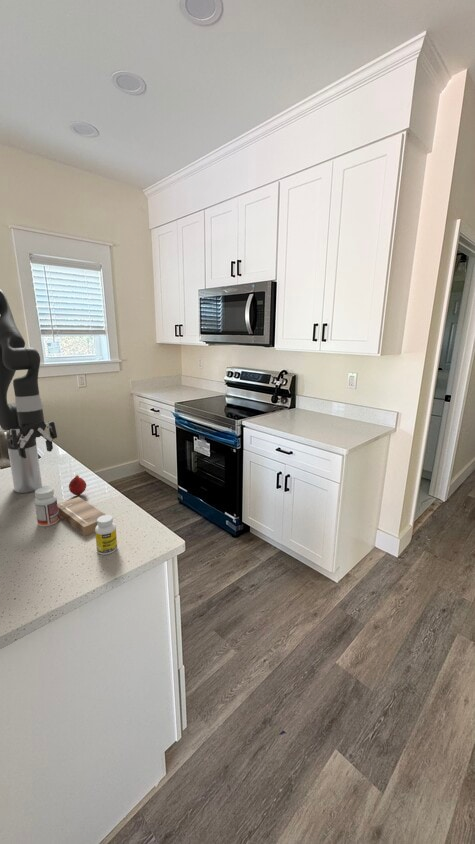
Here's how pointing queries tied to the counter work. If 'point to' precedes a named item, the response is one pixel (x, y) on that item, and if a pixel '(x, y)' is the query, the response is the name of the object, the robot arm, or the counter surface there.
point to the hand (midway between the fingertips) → (36, 454)
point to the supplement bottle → (105, 535)
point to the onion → (77, 486)
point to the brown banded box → (80, 515)
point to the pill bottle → (46, 506)
